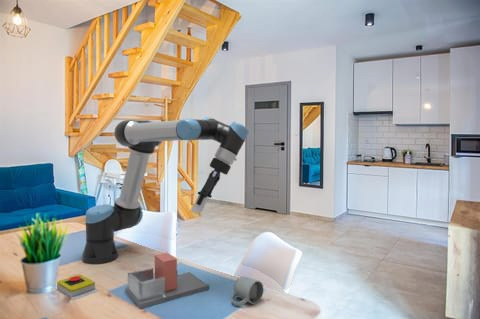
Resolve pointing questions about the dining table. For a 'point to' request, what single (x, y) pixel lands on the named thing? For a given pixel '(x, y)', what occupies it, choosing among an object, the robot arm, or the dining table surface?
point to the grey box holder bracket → (145, 284)
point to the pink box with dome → (166, 270)
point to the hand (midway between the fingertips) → (196, 211)
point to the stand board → (174, 290)
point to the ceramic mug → (247, 291)
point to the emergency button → (76, 286)
